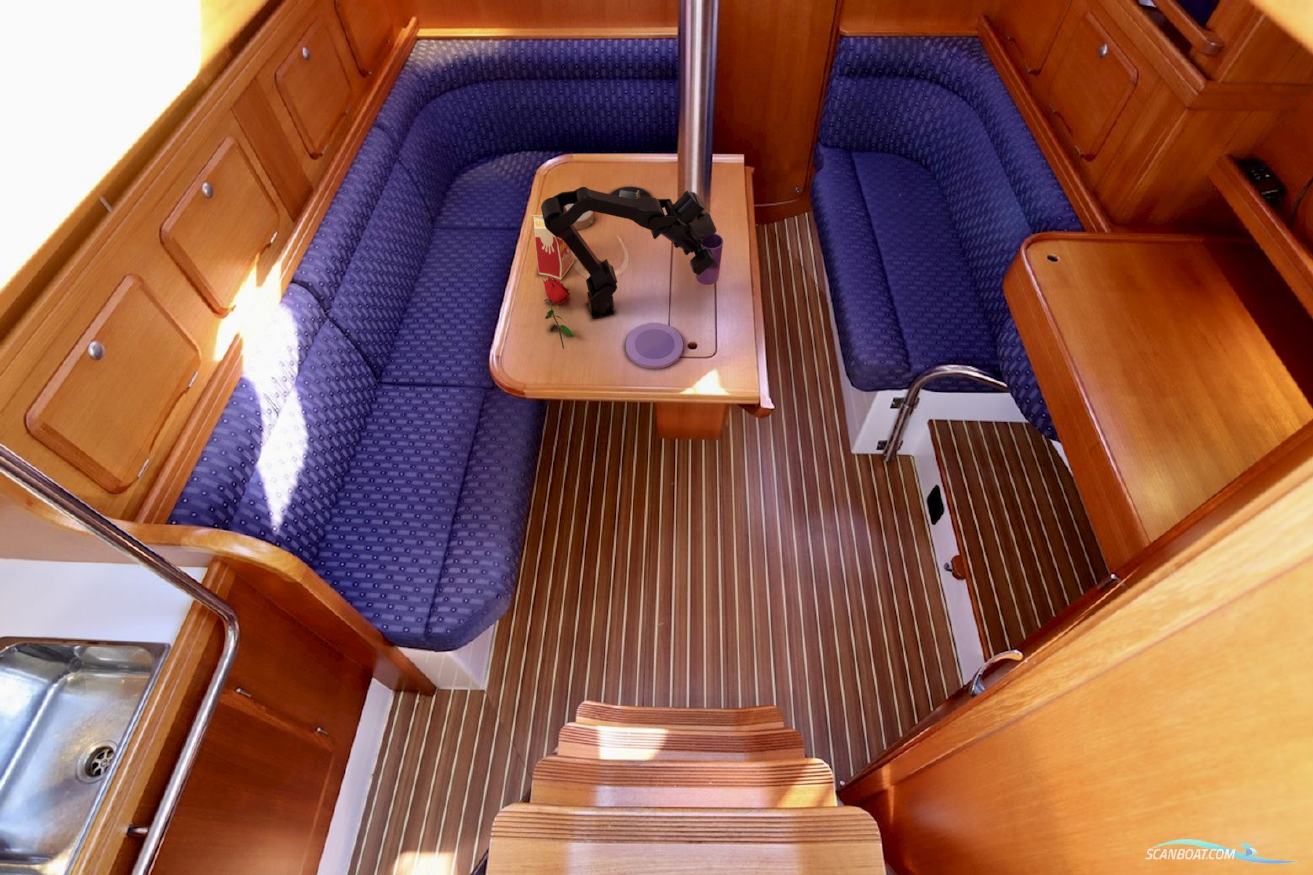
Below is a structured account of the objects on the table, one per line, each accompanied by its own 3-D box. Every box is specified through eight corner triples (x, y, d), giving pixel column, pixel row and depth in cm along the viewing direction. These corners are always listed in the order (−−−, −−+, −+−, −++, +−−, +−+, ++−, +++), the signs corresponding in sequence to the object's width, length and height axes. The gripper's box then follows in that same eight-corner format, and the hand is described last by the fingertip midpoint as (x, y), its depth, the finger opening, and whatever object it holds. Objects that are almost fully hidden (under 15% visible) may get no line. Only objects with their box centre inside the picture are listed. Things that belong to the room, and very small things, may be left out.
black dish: (601, 210, 215) (600, 196, 210) (615, 184, 223) (615, 170, 218) (644, 219, 212) (644, 205, 208) (657, 192, 220) (657, 178, 216)
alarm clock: (564, 225, 206) (552, 191, 211) (565, 236, 210) (553, 202, 216) (598, 218, 208) (585, 184, 213) (598, 229, 212) (585, 195, 218)
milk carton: (574, 261, 201) (567, 206, 184) (562, 280, 196) (553, 225, 180) (547, 254, 203) (537, 199, 186) (534, 273, 198) (524, 218, 181)
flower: (571, 328, 170) (553, 260, 188) (542, 346, 172) (527, 278, 190) (590, 347, 177) (571, 280, 195) (562, 364, 179) (546, 297, 197)
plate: (636, 375, 176) (636, 371, 174) (618, 334, 184) (618, 330, 183) (691, 360, 179) (691, 356, 178) (671, 320, 187) (671, 316, 186)
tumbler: (690, 278, 188) (693, 242, 178) (704, 265, 191) (708, 229, 181) (709, 288, 186) (713, 252, 175) (723, 275, 189) (728, 239, 178)
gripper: (709, 233, 164) (745, 261, 175) (690, 189, 174) (725, 218, 185) (677, 262, 169) (714, 288, 180) (661, 218, 179) (697, 244, 190)
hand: (713, 258), depth 183 cm, fingers closed on tumbler, 7 cm apart
